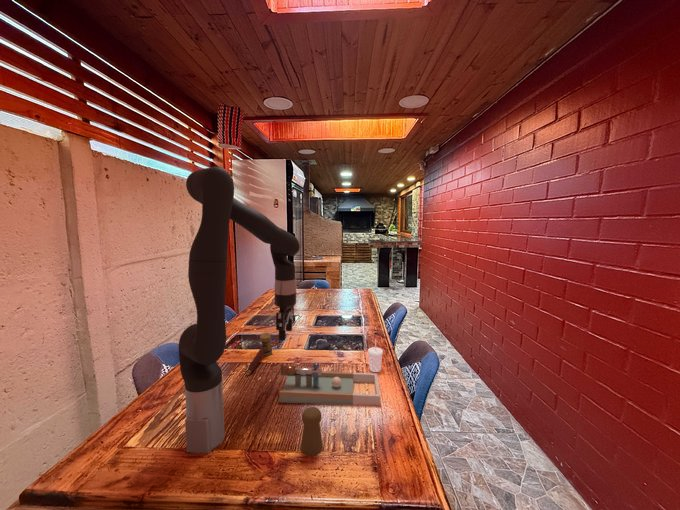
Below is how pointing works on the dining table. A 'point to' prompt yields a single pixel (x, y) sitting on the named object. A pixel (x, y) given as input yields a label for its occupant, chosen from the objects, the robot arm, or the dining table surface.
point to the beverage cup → (375, 358)
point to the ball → (336, 381)
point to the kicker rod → (303, 372)
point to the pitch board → (329, 389)
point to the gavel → (261, 351)
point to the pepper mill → (311, 432)
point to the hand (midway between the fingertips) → (285, 335)
